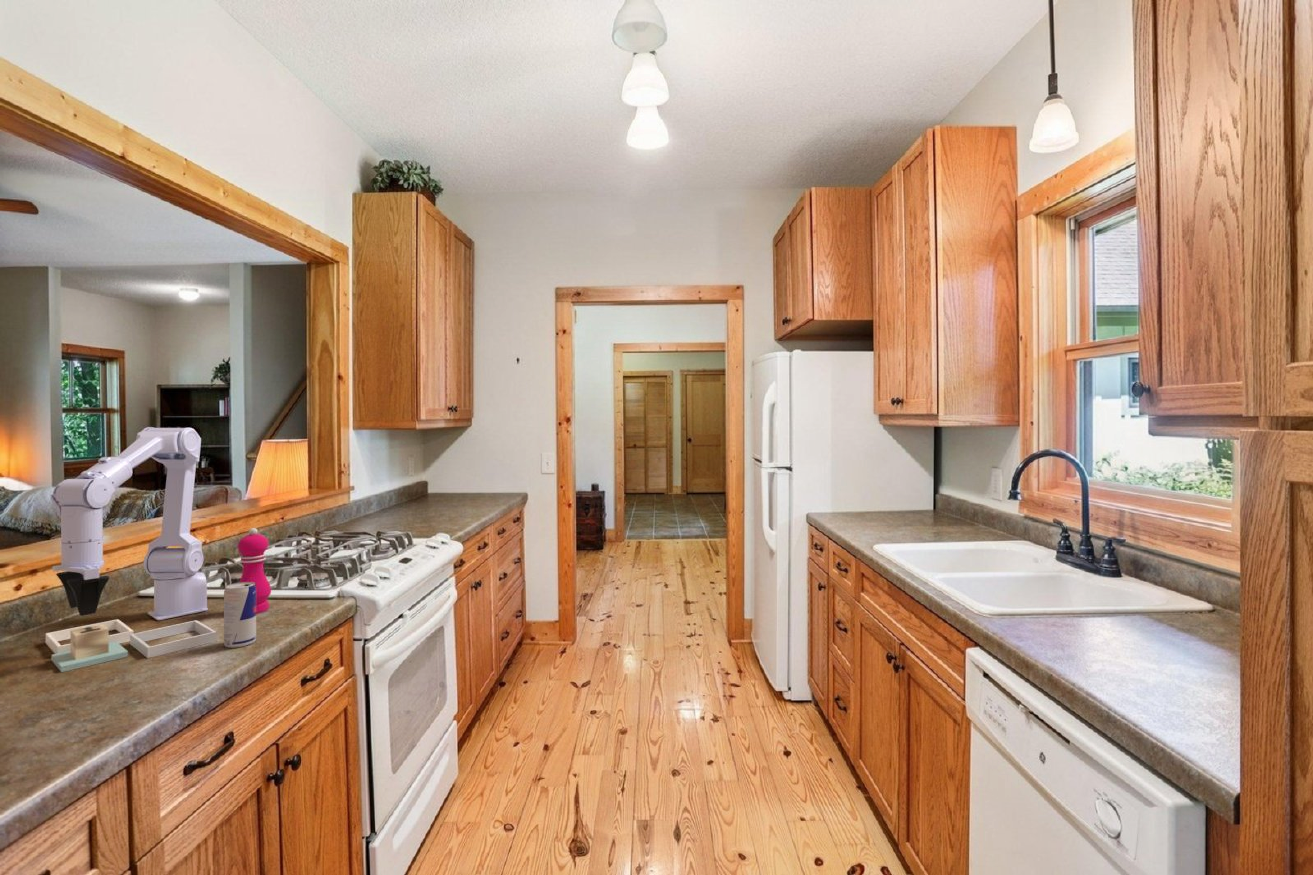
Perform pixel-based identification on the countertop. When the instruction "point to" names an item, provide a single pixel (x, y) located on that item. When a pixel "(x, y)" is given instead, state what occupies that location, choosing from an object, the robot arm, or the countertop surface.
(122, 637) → the white tray
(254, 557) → the pepper mill
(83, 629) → the letter cube
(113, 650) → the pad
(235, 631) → the energy drink
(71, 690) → the countertop surface
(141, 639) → the white rectangular frame
